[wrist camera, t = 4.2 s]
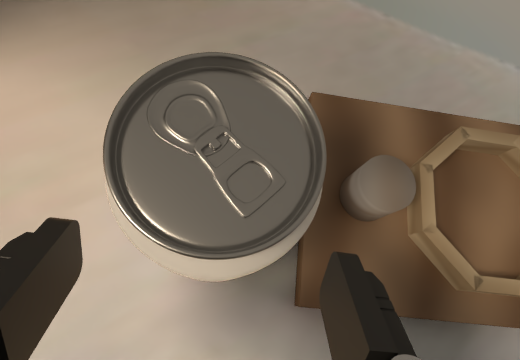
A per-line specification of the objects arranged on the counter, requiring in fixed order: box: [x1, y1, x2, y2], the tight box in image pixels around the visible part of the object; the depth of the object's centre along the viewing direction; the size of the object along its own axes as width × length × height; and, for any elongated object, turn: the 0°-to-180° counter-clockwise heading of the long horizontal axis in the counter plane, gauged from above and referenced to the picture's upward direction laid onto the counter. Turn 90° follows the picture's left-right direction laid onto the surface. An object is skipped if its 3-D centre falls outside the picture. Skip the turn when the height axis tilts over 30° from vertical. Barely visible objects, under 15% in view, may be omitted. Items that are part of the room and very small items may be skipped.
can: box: [103, 52, 327, 282], centre depth 14 cm, size 6×6×12 cm
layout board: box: [295, 92, 520, 328], centre depth 20 cm, size 16×13×4 cm
